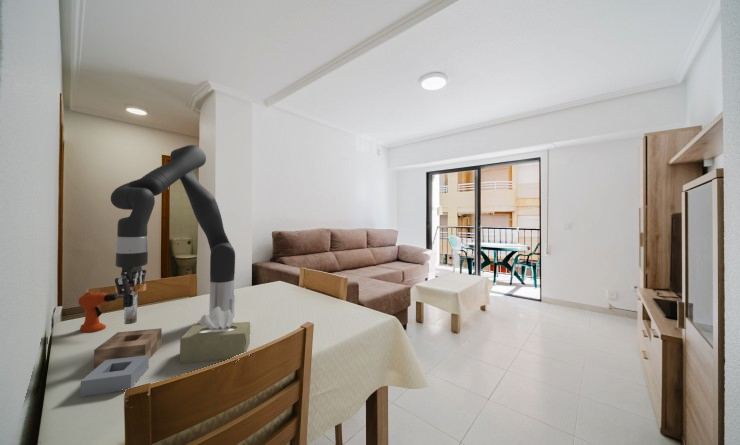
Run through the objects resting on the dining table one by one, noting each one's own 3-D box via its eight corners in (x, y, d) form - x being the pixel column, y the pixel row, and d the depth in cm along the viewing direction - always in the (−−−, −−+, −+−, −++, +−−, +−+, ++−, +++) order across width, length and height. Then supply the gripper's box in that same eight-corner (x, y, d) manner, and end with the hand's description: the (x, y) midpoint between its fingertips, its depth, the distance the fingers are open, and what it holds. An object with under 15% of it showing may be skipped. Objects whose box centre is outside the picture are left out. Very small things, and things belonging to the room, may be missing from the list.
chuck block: (161, 345, 91) (161, 328, 91) (145, 363, 80) (145, 344, 80) (117, 350, 87) (117, 332, 87) (93, 370, 76) (94, 349, 76)
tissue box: (178, 364, 80) (179, 313, 80) (191, 348, 90) (192, 302, 90) (245, 357, 85) (246, 309, 85) (250, 343, 95) (251, 300, 95)
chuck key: (146, 319, 86) (147, 283, 86) (141, 323, 83) (142, 285, 83) (119, 321, 83) (120, 284, 83) (113, 325, 81) (114, 286, 80)
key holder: (148, 368, 78) (148, 354, 78) (130, 389, 68) (131, 374, 68) (105, 374, 74) (105, 360, 74) (80, 397, 65) (80, 381, 65)
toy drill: (126, 329, 99) (122, 290, 99) (76, 334, 99) (71, 295, 99) (137, 324, 104) (133, 286, 104) (89, 328, 104) (85, 291, 103)
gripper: (135, 253, 77) (134, 311, 78) (156, 248, 91) (155, 297, 91) (103, 254, 75) (101, 314, 75) (129, 248, 88) (128, 299, 89)
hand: (131, 304), depth 83 cm, fingers closed on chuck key, 3 cm apart
